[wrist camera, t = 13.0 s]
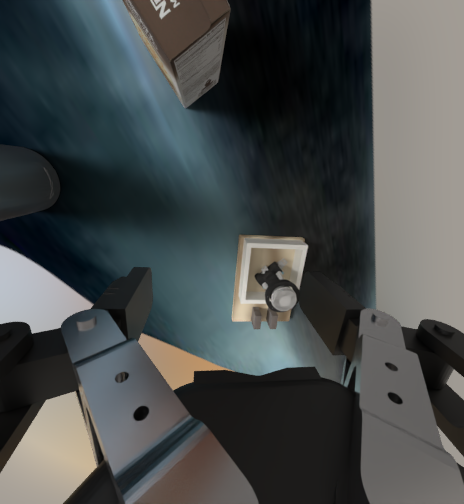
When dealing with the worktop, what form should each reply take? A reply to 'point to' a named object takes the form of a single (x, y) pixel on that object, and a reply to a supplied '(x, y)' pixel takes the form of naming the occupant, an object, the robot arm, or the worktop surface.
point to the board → (258, 261)
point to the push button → (277, 288)
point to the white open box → (249, 243)
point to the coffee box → (184, 41)
